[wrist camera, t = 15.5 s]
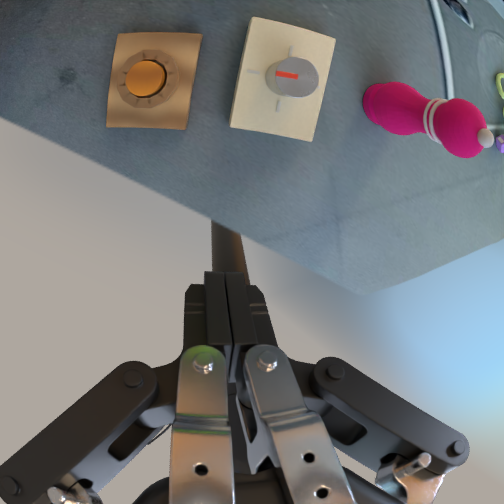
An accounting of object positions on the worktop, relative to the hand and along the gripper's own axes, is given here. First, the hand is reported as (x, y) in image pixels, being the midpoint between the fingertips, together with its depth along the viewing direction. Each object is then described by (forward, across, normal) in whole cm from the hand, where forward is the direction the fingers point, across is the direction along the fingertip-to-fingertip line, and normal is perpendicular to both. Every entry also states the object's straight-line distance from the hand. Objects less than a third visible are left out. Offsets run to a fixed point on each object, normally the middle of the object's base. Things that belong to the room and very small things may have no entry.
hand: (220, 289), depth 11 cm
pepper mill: (+26, -22, -11) cm, 36 cm away
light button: (+23, +8, -9) cm, 26 cm away
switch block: (+26, +8, -9) cm, 29 cm away
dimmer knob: (+23, -7, -10) cm, 26 cm away
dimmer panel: (+26, -7, -10) cm, 29 cm away
